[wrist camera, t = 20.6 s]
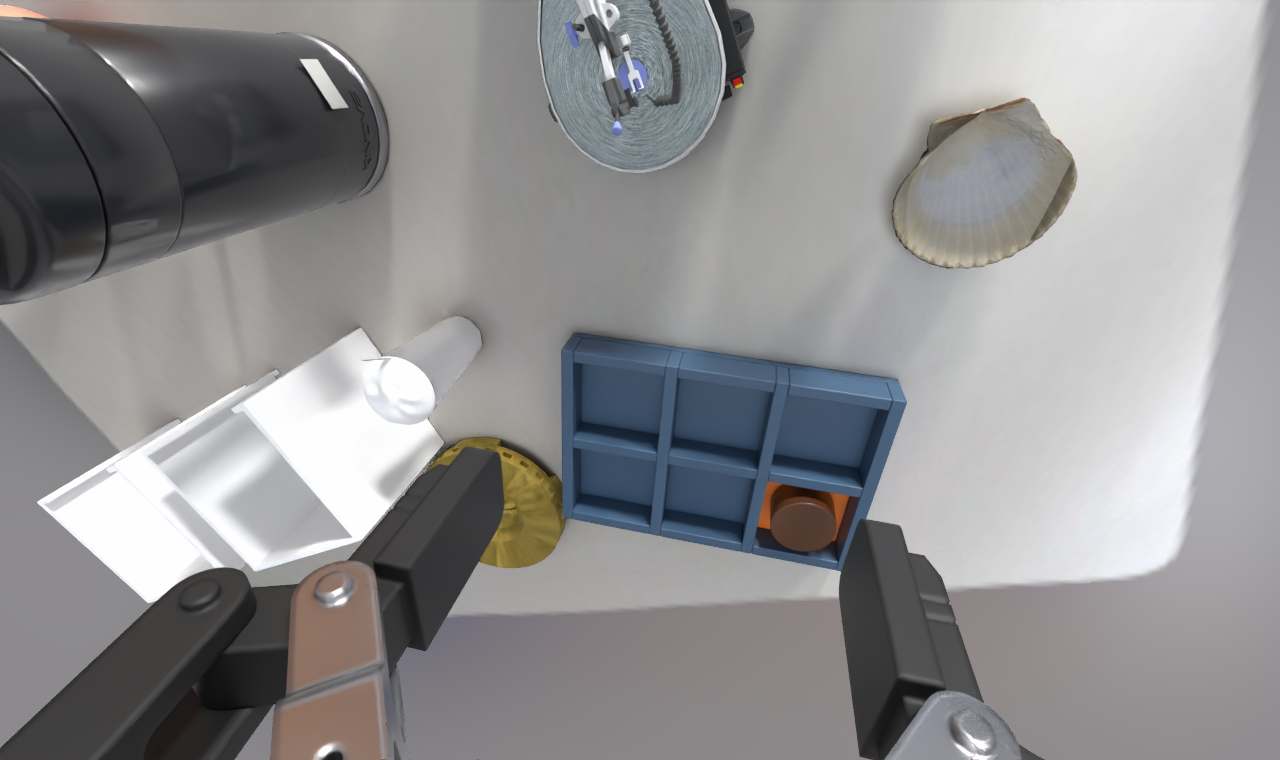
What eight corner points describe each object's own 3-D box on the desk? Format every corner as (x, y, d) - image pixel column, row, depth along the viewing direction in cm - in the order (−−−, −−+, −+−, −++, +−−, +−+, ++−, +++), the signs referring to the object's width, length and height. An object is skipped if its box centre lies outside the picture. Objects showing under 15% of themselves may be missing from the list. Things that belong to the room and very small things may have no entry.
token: (765, 520, 42) (765, 545, 40) (776, 474, 40) (776, 497, 38) (826, 532, 41) (828, 557, 39) (840, 485, 39) (844, 509, 37)
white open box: (254, 511, 55) (148, 603, 46) (171, 421, 51) (36, 502, 42) (444, 442, 46) (360, 540, 36) (360, 327, 42) (242, 402, 32)
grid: (573, 493, 46) (562, 517, 43) (574, 332, 38) (560, 349, 36) (842, 544, 43) (847, 572, 40) (898, 379, 35) (907, 401, 33)
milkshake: (484, 297, 39) (403, 363, 30) (495, 366, 41) (423, 445, 33) (423, 293, 39) (327, 357, 31) (438, 362, 42) (353, 438, 33)
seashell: (893, 252, 34) (1057, 248, 30) (889, 277, 31) (1064, 277, 28) (900, 104, 29) (1096, 79, 25) (895, 122, 27) (1108, 98, 23)
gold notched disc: (413, 498, 50) (400, 515, 48) (466, 410, 44) (452, 426, 42) (528, 569, 51) (519, 588, 49) (594, 493, 45) (586, 512, 43)
